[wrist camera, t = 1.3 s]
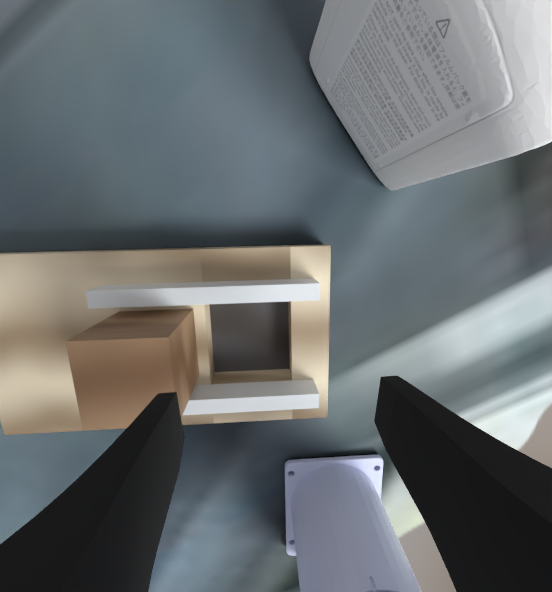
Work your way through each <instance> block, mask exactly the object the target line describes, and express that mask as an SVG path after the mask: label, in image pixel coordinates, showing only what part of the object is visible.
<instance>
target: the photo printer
mask: <svg viewBox="0 0 552 592" xmlns="http://www.w3.org/2000/svg"><path fill="white" fill-rule="evenodd" d="M309 60H310V65H311V67H312V70H313V72H314V75H315V77H316V79H317V81H318V83H319V85H320V87H321V89H322V90H323V92H324V94H325V96H326V97H327V99H328V101H329V103H330V104H331V106H332V107H333V109H334V111H335V112H336V114H337V116H338V117H339V119H340V121H341V122H342V124H343V125H344V127H345V128H346V130H347V132H348V133H349V135H350V137H351V138H352V140H353V141H354V143H355V144H356V146H357V148H358V149H359V151H360V152H361V154H362V155H363V157H364V159H365V160H366V162H367V163H368V165H369V166H370V168H371V169H372V170H373V172H374V173H375V175H376V176H377V177H378V179H379V180H380V181H381V182H382V183H383V185H384V186H385V187H386V188H388V189H389V190H397V189H400V188H404V187H407V186H410V185H413V184H417V183H421V182H424V181H428V180H431V179H435V178H438V177H441V176H445V175H448V174H452V173H456V172H459V171H463V170H466V169H470V168H473V167H477V166H480V165H483V164H487V163H491V162H494V161H497V160H501V159H505V158H508V157H512V156H515V155H518V154H521V153H523V152H526V151H528V150H531V149H535V148H538V147H540V146H543V145H546V144H548V143H550V142H552V0H326V2H325V5H324V8H323V12H322V15H321V18H320V22H319V25H318V28H317V32H316V35H315V38H314V41H313V45H312V48H311V52H310V57H309Z"/></svg>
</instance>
